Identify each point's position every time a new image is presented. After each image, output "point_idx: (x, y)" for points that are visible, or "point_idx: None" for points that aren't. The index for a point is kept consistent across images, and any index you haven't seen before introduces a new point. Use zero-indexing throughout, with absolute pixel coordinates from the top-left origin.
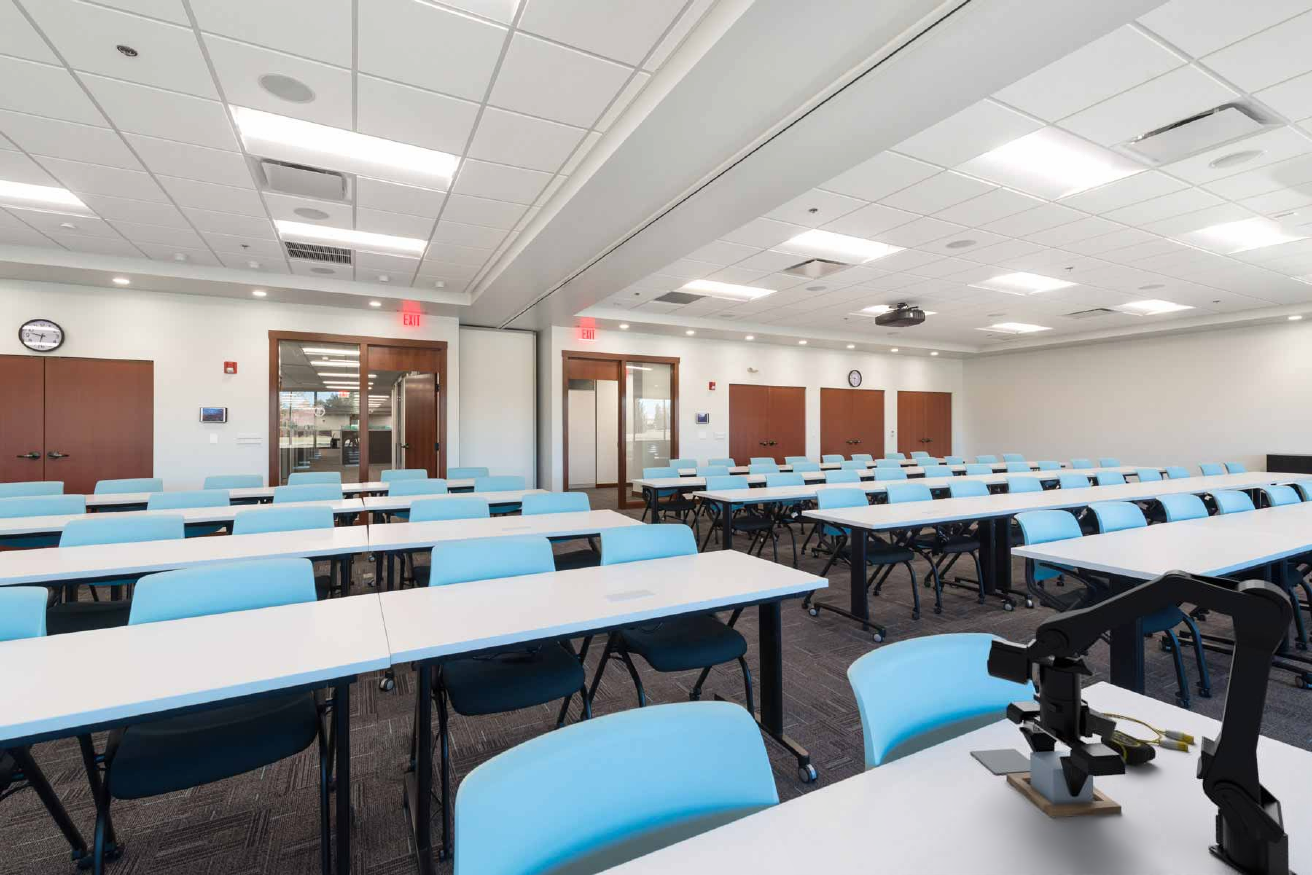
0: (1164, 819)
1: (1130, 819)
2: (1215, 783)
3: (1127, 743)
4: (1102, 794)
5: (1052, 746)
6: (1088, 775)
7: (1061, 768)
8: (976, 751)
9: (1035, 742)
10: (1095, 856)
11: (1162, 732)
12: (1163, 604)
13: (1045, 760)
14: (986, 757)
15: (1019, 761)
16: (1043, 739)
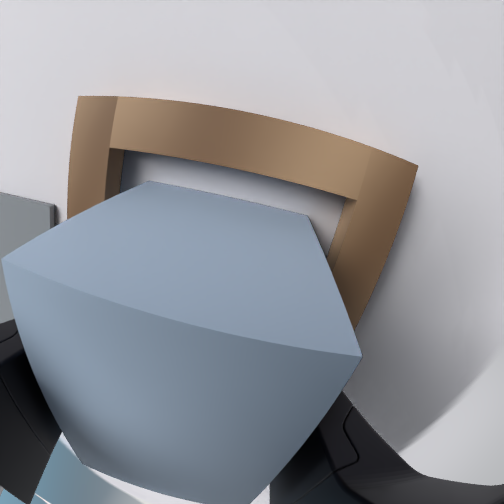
0: (476, 56)
1: (441, 181)
2: None
3: None
4: (315, 146)
5: (5, 380)
6: (378, 438)
7: (251, 496)
8: None
9: (36, 470)
10: (420, 420)
11: None
12: None
13: (158, 486)
14: (7, 319)
15: (10, 243)
16: (3, 455)
